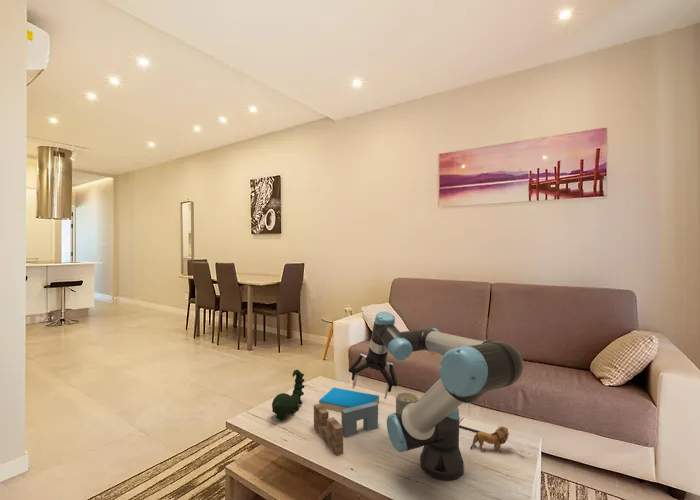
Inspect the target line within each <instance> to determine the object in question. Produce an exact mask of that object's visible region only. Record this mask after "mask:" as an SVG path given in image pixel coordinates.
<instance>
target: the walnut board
mask: <svg viewBox="0 0 700 500" xmlns="http://www.w3.org/2000/svg"><path fill="white" fill-rule="evenodd" d="M329 416H330V415H329V411H328V409H325V408H324V407H323V406H322V405H321V404H319V403H315V404H313V429H314V430H315V431H316V434H318V435H319V437H321V439H322V440H323V441H324V442H325V444H326V445H327V446H328V447H329V449H330V450H331V451H332V452H333V454H334V455H335V456H339V455H342V454H344V436H343V426H342V423H340V422H339V421H338V420H337V419H336V418H335V417H329Z"/></svg>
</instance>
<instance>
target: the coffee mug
mask: <svg viewBox="0 0 700 500" xmlns="http://www.w3.org/2000/svg"><path fill="white" fill-rule="evenodd" d="M418 400H419V396H418V395H417V394H416V393H412V392H407V391H403V392H398V393H396V396H395V413H398V412H400V411H401V410H402V409H403V408H404V407H405V406H406V405H408V404H410V403H416V402H417V401H418Z"/></svg>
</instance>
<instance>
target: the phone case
mask: <svg viewBox="0 0 700 500" xmlns="http://www.w3.org/2000/svg"><path fill="white" fill-rule="evenodd" d="M494 425H495V424H490V423H486V422H482V421H479V420H476V419H472V418H468V417H462V418H461V420H459V429H462V430H466V431H468V430H469V432H471V431H472V433H475V432H476V433H478V432H484V433H488V434H492V433H494V432H495V431H496V430H498V427H499V426H498V425H495V426H494ZM476 433H475V434H476Z"/></svg>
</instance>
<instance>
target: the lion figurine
mask: <svg viewBox="0 0 700 500" xmlns="http://www.w3.org/2000/svg"><path fill="white" fill-rule="evenodd" d="M509 435H510V433H509V428H507V427H506V426H504V425H501V426H498V430H496V431H495V432H494V433H492V434H488V433H484V432H478V433H475V434H474V436H473V441H472V444H471V446H470V447H469V449H473V448H477V445H476V444H477V443H479V445H478V448H479V449H480V451H481V452H482V453H483V452H484V453H486V451H485V449H483V445H484V443H485V442H486V443H487V444H488V445H489V444H490V445H493V449H494V448H495V449H494V450H496V451H497V453H498V452H499V453H498V454H500V453H501V454H502V451H501V447H502V445H504V444H505V443H506V442H507V440H508V439H509Z"/></svg>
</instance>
